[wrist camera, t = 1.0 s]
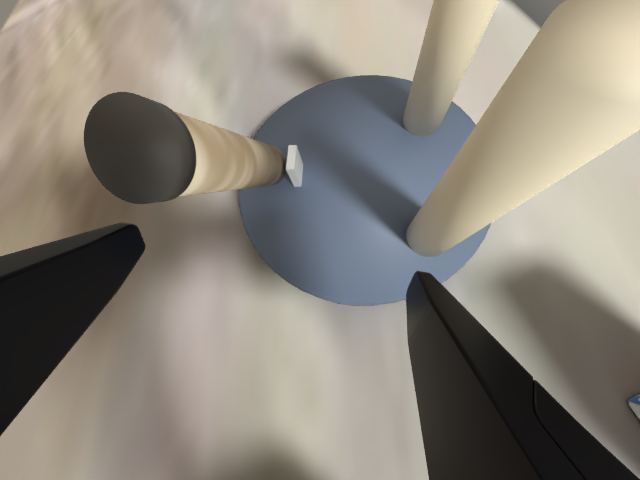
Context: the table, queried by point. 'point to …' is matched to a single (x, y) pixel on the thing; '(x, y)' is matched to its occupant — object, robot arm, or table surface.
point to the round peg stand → (438, 150)
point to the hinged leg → (171, 152)
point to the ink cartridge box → (635, 405)
